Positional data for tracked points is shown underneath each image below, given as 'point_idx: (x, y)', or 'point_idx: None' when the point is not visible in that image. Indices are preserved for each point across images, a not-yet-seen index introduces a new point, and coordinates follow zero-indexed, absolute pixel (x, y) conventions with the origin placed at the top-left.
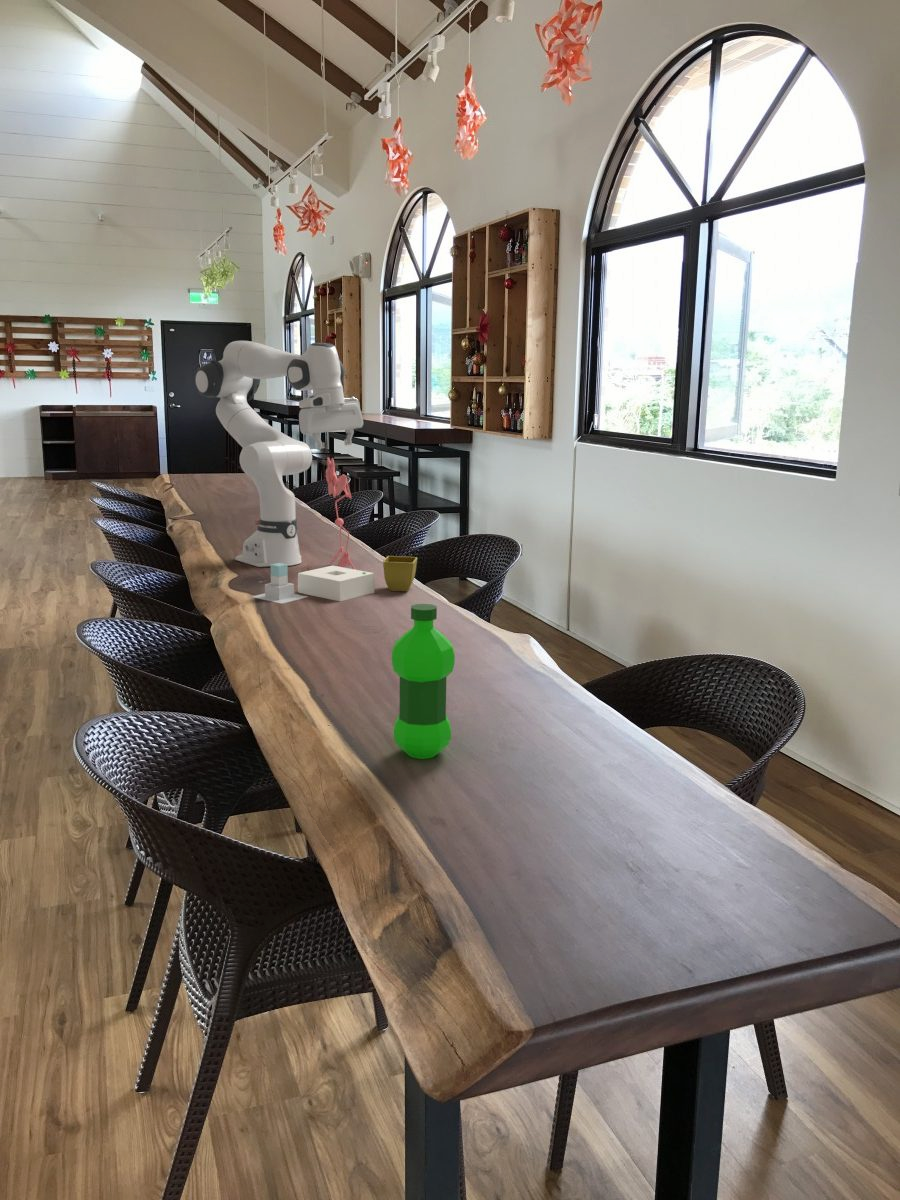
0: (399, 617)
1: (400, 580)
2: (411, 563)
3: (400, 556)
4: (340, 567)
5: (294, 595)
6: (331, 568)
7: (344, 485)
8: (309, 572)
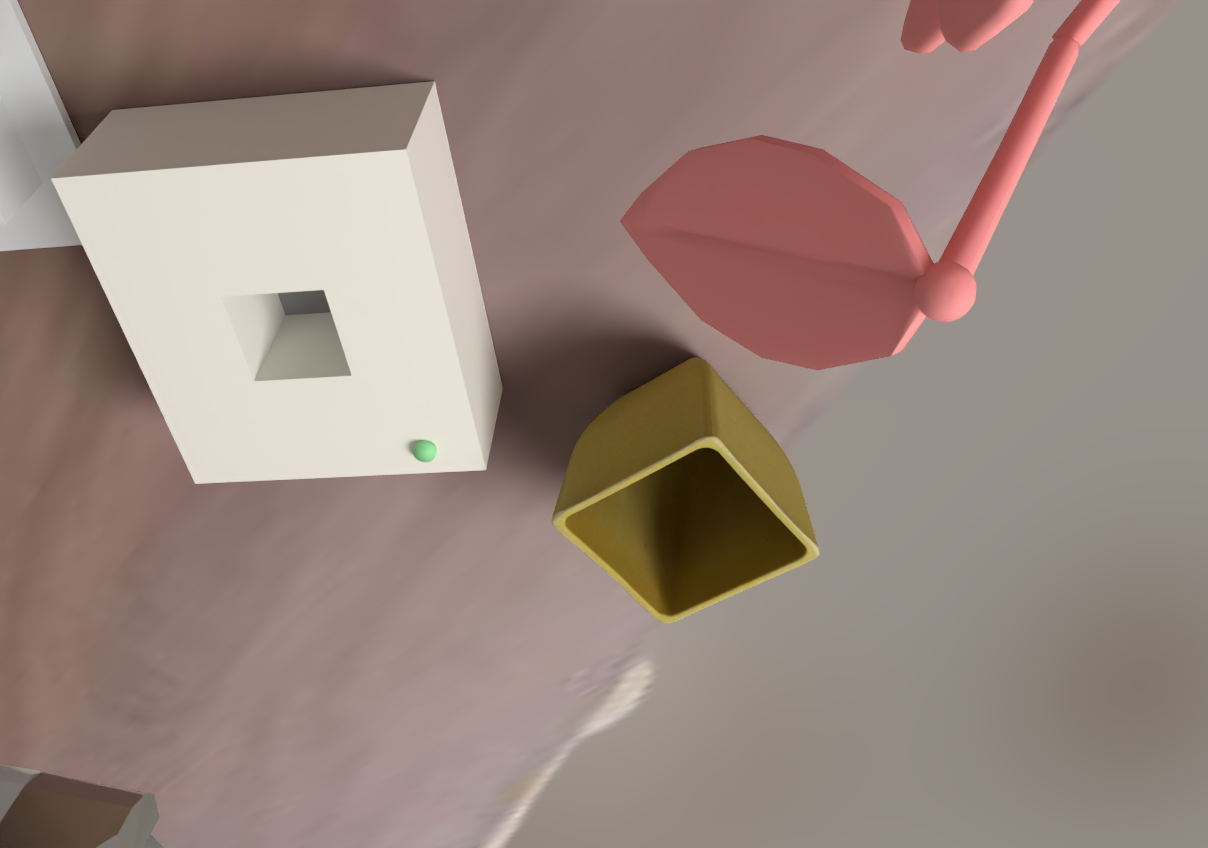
0: (326, 669)
1: (630, 498)
2: (657, 618)
3: (758, 492)
4: (414, 235)
5: (53, 163)
6: (339, 219)
7: (748, 342)
8: (136, 215)
